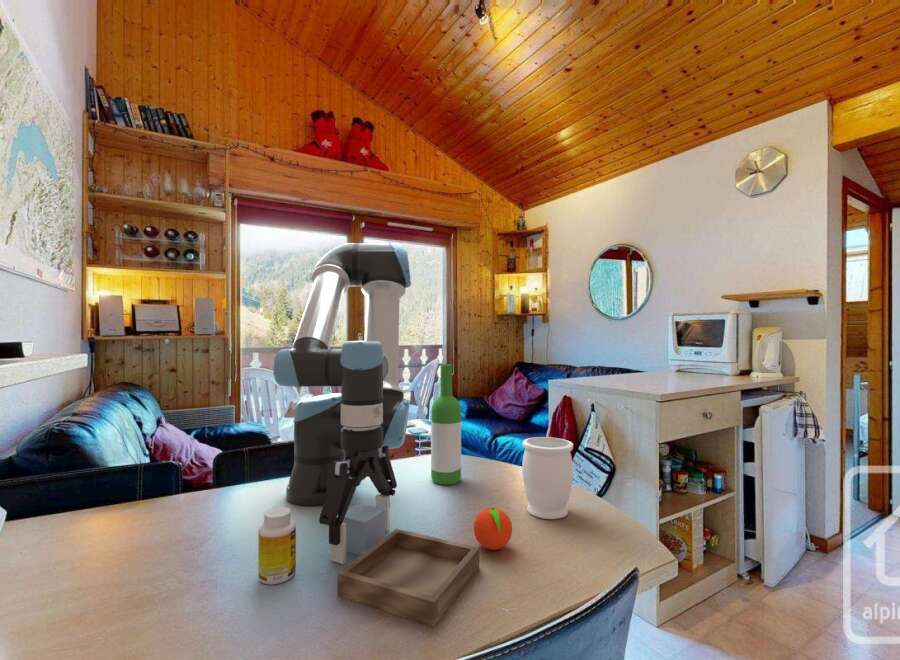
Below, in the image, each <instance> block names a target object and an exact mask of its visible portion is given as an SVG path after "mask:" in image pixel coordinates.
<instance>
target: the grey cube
mask: <svg viewBox="0 0 900 660" xmlns="http://www.w3.org/2000/svg"><path fill="white" fill-rule="evenodd" d="M343 523H346V553H350V554H354V555H358V556H361V555H362V554H364V553H365V552H366V551H368V550H369V549H370V548H372V547H373V546H374V545H376V544H377V543H378V542H379V541H381V540H382V539H383V538H385V537H386V531H385V509H380V508H376V506H371V505H366V504H362V503H358V504H357V505H354V506H353V507H351V508H348V510H347V512H346V515H345V517H344V520H343Z"/></svg>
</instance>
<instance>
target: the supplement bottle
mask: <svg viewBox="0 0 900 660" xmlns="http://www.w3.org/2000/svg"><path fill="white" fill-rule="evenodd" d="M291 511H292V510H291V509H290V508H288V507H286V506H281V507H280V506H279V507H278V506H277V507H273V508H270V509H268V510H266V511H265V512H264V514H263V523H262V524H261V525H260V526H259V528H258V531H257V532H258V533H257V535H258V537H257V538H258V545H257V546H258V550H257V551H258V552H257V554H258V556H257V557H258V560H257V563H258V566H257V567H258V572H257V574H258V575H257V578H258V579H259V581H260V582H261V583H262V584H265V585H277V584H282V583H285V582H287V581H288V580H290V579H292V577H293V576H294V575H295V573H296V568H297V567H296V566H297V562H296V561H297V548H296V547H297V523H296V521H295V520H293V519H292V513H291Z"/></svg>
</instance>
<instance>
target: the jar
mask: <svg viewBox="0 0 900 660" xmlns="http://www.w3.org/2000/svg"><path fill="white" fill-rule="evenodd" d="M522 447H523V448H524V453H523V456H522V466H521V469H522V470H521V471H522V481H523V485H524V487H523V488H524V492H525V497H526V499H527V501H528V505H527V507H526V510H527V512H528V513H529V514H530V515H531V516H534V517H536V518H539V519H545V520H559V519H563V518H565V517H566V516H567V515H568V513H569V511H568V508H567V504H568V502H569V499H570V496H571V491H572V485H573V478H574V466H573V458H572V454H571V451H573V449H574V443H573V442H572V441H569V440H567V439H563V438H558V437H550V436H535V437H529V438H526V439H523V440H522Z"/></svg>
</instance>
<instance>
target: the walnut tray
mask: <svg viewBox="0 0 900 660" xmlns="http://www.w3.org/2000/svg"><path fill="white" fill-rule="evenodd" d="M479 569H480V547H476V546H472V545H467V544H465V543H460V542H455V541H450V540H446V539H442V538H439V537H438V538H437V537H434V536H429V535H424V534H422V533H415V532H413V531H408V530H403V529H398V528H395V529H394V530H392V531H391V532H390V533H389V534H387V535H385V538H383V539H382V540H381V541H379V542H378V543H377V544H376V545H374V546H373V547H372V548H370V549H369V550H368V551H366V552H365V553H364V554H362V555H359V556H358V557H357V558H356V559H354V560H353V561H352V562H350V563H349V564H348V565H346V566H345V567H344V568H343V569H341V570H340V571H338V572H337V597H340V598H344V599H347V600H349V601H353V602H356V603H358V604H362V605H365V606H368V607H370V608H374V609H376V610H380V611H382V612H386V613H387V614H388V613H389V614H391V615H395V616H397V617H400V618H401V617H402V618H404V619H407V620H410V621H413V622H416V623H418V624H419V623H420V624H422V625H425V626H428V627H432V628H435V627H436V626H437V624H439V622H440V621H441V619H442V618H443V617H444V616H445V614H446V613H447V612H448V610H449V609H450V607H451V606H452V605H453V603H454V602H455V601H456V600H457V598H459V596H460V594H461V593H462V591H463V590H464V589H465V587H466V586H467V584H468V583H469V582H470V580H472V578H473V577H474V575H476V573H477V572H478V571H479Z"/></svg>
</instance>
